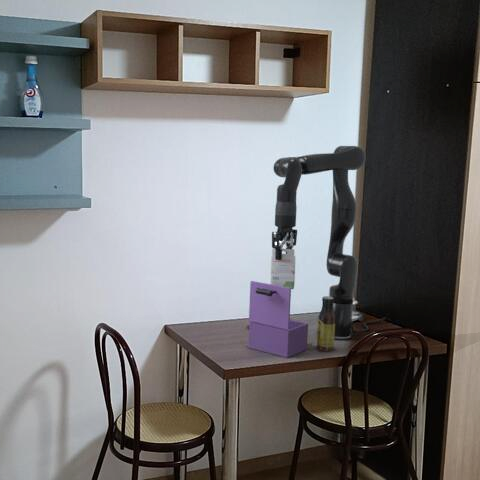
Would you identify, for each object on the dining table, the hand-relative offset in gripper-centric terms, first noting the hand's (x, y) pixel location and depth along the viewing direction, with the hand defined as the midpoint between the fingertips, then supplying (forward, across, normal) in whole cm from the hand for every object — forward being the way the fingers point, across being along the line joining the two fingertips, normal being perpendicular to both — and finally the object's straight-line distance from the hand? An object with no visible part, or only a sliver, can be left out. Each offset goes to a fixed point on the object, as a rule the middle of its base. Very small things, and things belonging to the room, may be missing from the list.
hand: (283, 258), depth 236 cm
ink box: (+11, 0, 0) cm, 11 cm away
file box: (+34, -1, 0) cm, 34 cm away
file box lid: (+16, -8, 0) cm, 18 cm away
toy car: (+34, +55, +1) cm, 65 cm away
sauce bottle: (+34, +11, -13) cm, 38 cm away
